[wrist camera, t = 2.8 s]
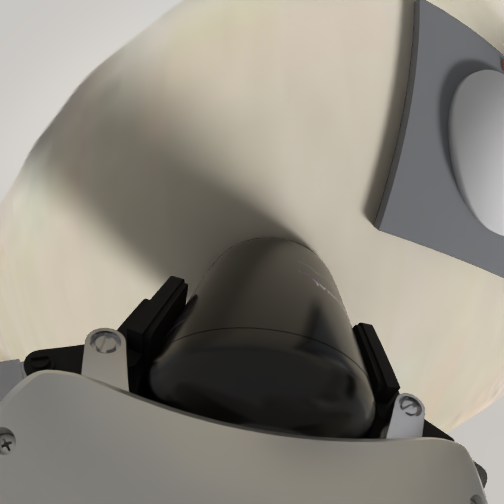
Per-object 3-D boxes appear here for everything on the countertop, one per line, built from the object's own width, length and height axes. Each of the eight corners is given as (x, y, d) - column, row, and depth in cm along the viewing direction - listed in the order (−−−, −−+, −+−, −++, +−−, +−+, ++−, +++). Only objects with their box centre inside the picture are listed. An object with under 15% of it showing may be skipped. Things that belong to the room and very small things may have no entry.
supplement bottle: (356, 260, 13) (477, 494, 2) (302, 359, 15) (306, 558, 4) (225, 212, 13) (28, 439, 2) (192, 323, 15) (100, 516, 4)
